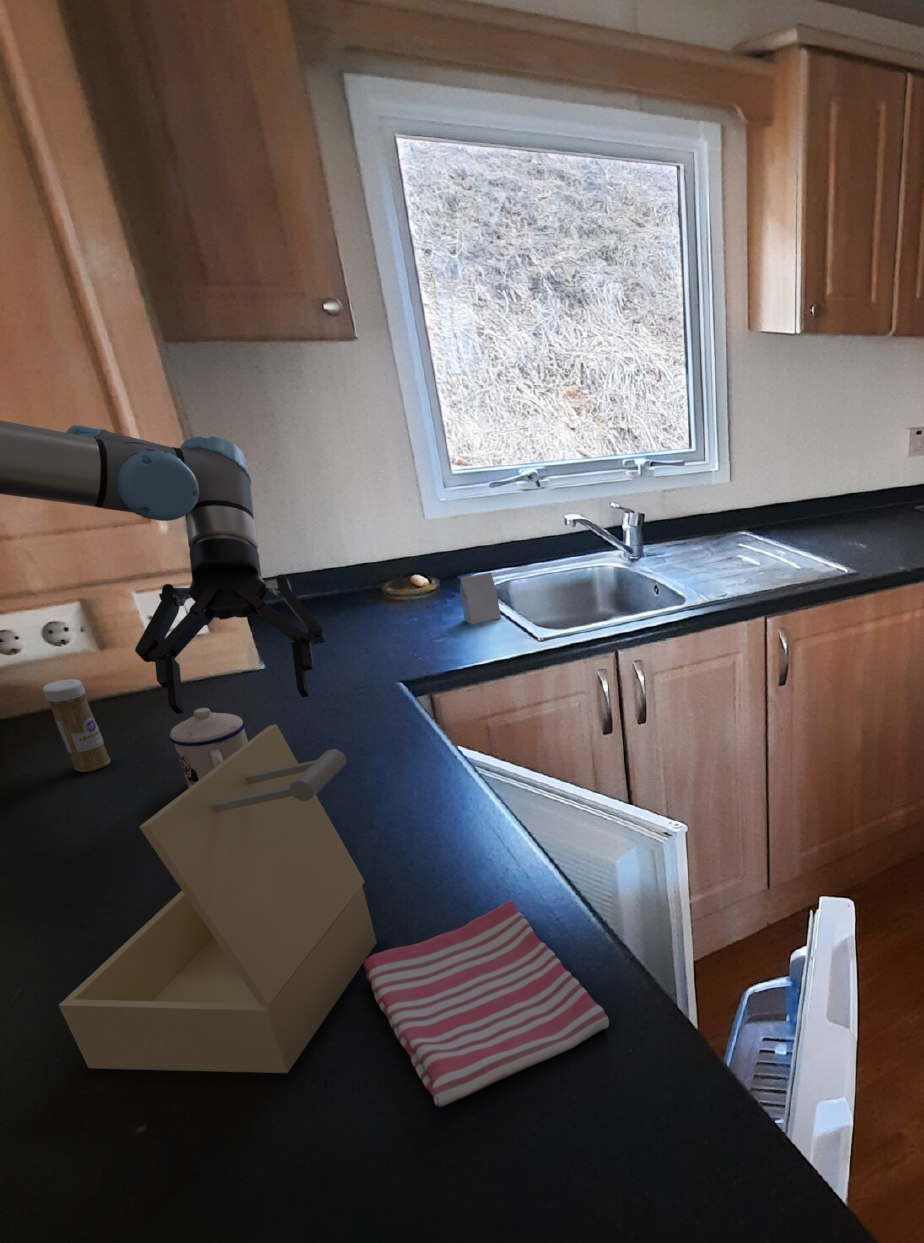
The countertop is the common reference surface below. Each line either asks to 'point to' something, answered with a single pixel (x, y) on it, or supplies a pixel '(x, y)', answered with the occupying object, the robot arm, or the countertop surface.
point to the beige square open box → (208, 998)
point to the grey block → (479, 599)
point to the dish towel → (481, 1003)
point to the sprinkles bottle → (76, 724)
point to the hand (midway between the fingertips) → (241, 701)
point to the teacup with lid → (206, 741)
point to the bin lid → (259, 857)
